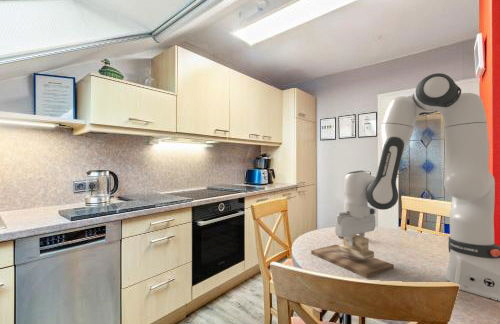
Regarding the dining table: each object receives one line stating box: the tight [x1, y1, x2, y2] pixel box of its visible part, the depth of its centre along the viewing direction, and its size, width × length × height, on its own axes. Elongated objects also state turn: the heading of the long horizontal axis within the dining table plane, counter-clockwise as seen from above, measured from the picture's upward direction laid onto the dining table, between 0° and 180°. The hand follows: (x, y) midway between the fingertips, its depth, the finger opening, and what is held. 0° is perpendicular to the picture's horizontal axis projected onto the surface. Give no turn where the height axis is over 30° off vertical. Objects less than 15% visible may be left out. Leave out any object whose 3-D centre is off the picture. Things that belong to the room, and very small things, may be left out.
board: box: [310, 244, 395, 279], centre depth 103 cm, size 28×16×2 cm, turn 29°
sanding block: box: [338, 234, 375, 260], centre depth 100 cm, size 12×6×7 cm, turn 29°
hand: (355, 244), depth 100 cm, fingers closed on sanding block, 4 cm apart
